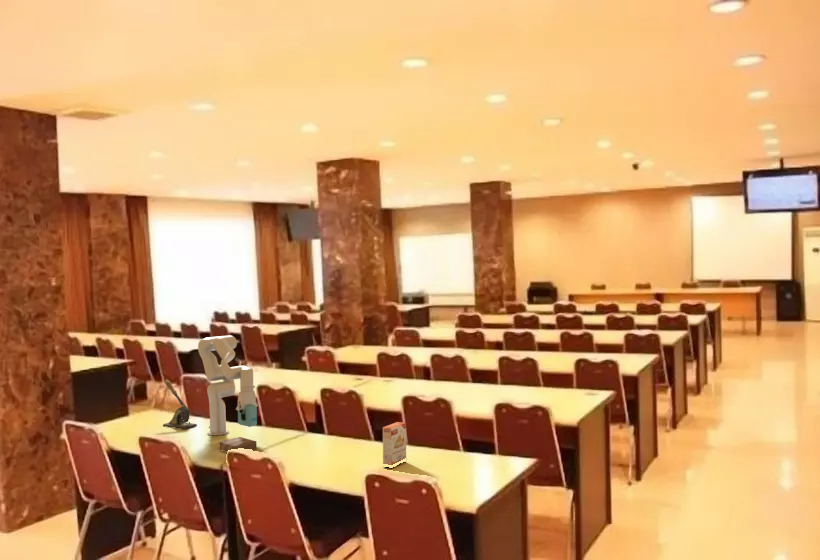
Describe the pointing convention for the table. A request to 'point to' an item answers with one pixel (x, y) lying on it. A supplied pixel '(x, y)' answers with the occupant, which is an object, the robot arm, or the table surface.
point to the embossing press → (179, 412)
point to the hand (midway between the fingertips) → (247, 419)
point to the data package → (248, 416)
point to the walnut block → (237, 444)
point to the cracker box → (394, 443)
